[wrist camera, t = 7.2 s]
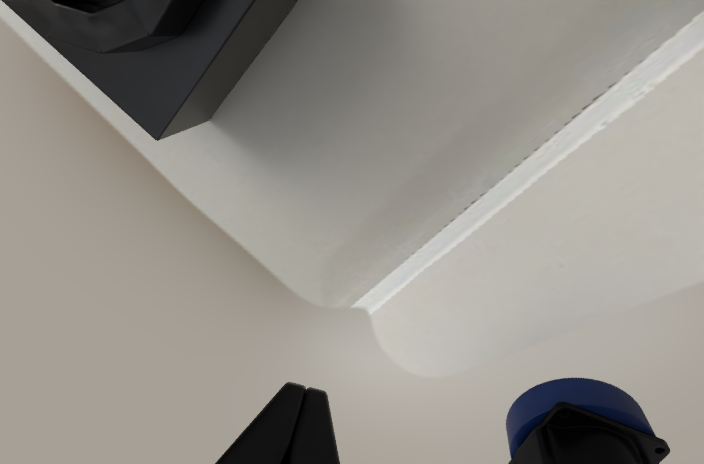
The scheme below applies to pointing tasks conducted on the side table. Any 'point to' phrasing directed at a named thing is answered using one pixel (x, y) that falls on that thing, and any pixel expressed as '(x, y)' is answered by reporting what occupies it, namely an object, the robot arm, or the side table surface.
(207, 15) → the hob block
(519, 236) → the side table surface
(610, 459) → the robot arm
